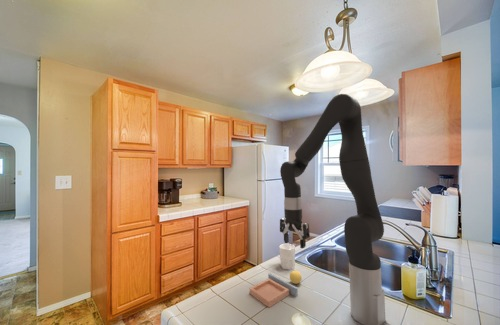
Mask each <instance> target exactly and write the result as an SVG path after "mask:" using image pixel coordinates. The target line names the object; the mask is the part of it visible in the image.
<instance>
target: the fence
mask: <svg viewBox="0 0 500 325" xmlns="http://www.w3.org/2000/svg"><path fill="white" fill-rule="evenodd" d="M267 277H268V278H267V279H271V280H273V281H275V282H276V283H278V284H280V285H282V286H284V287H285V288H287V289H289V295H292V296H293V297H298V295H299V294H298V292H299V290H298V287H297V286H295V285H293V284H291V283H290V282H288V281H285V280H284V279H282V278H280V277H277V276H276V275H274V274H272V273H271V272H270V273H268V275H267Z"/></svg>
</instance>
